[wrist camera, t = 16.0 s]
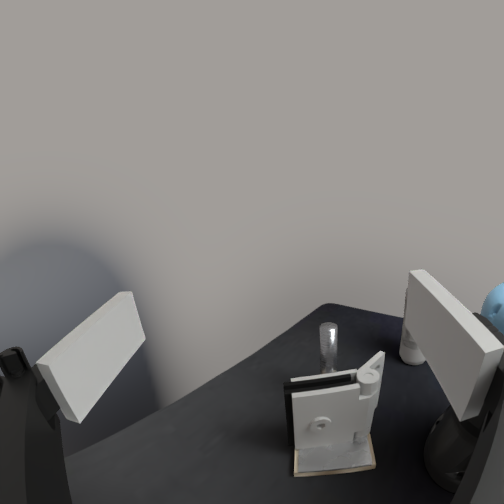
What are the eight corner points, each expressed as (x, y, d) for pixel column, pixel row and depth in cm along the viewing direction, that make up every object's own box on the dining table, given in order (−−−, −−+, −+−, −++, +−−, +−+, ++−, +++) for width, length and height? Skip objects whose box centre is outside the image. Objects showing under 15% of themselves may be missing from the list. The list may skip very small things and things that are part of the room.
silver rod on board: (354, 383, 42) (358, 319, 39) (372, 465, 27) (389, 400, 23) (299, 388, 44) (295, 325, 41) (298, 473, 28) (295, 411, 25)
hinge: (374, 403, 37) (382, 349, 34) (392, 426, 32) (405, 371, 29) (283, 433, 35) (278, 380, 32) (295, 461, 29) (292, 410, 27)
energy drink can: (434, 361, 43) (447, 285, 39) (406, 370, 44) (417, 292, 40) (420, 345, 49) (429, 273, 45) (393, 352, 49) (400, 278, 45)
